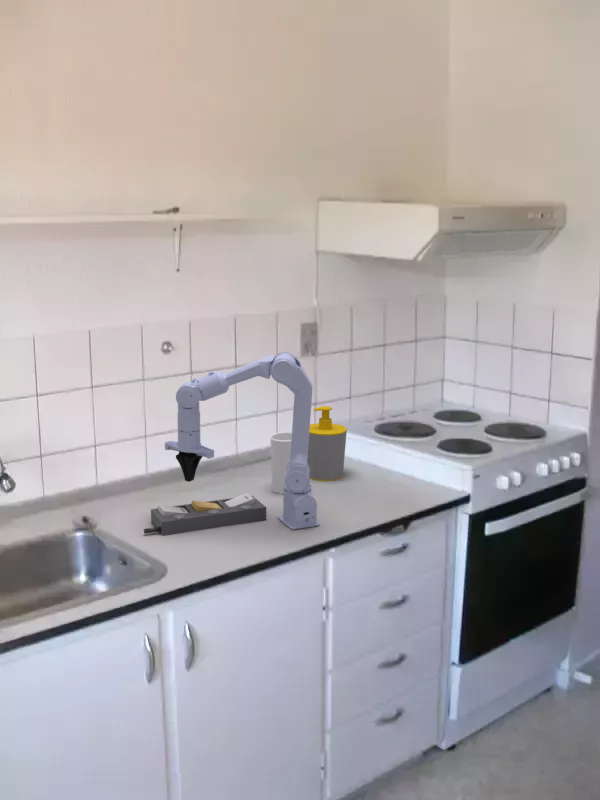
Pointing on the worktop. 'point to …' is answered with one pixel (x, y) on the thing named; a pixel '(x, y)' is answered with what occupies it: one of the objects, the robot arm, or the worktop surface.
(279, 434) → the cup
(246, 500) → the rocker
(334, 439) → the soap bottle
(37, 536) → the worktop surface
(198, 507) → the rocker mid
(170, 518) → the power strip
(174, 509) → the block
